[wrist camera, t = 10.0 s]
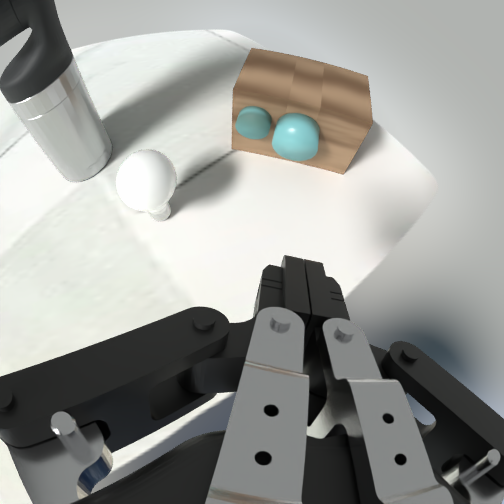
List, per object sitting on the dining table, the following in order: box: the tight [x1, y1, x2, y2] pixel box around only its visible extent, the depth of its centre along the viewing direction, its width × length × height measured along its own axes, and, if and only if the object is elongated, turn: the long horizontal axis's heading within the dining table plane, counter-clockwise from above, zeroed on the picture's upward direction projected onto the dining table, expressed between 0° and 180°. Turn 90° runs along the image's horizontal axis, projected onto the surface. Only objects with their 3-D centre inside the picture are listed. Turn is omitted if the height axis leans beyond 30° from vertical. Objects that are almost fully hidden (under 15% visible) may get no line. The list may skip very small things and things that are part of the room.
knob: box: [272, 113, 320, 161], centre depth 34 cm, size 15×5×5 cm, turn 168°
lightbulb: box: [116, 149, 177, 221], centre depth 30 cm, size 6×6×11 cm
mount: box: [232, 48, 373, 174], centre depth 35 cm, size 12×16×11 cm
